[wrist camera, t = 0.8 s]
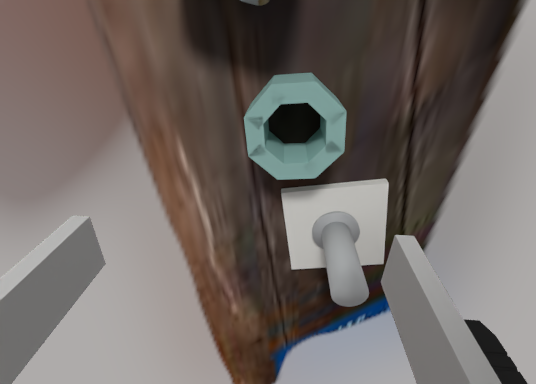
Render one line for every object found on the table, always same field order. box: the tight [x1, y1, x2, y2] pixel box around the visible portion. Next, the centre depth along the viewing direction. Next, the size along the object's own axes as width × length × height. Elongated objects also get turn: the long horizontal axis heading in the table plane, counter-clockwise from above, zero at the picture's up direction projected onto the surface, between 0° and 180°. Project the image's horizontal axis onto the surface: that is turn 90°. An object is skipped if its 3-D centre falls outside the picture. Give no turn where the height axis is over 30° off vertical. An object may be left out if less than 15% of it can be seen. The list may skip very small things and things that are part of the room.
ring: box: [244, 73, 347, 180], centre depth 26 cm, size 8×8×5 cm
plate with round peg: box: [281, 179, 389, 307], centre depth 29 cm, size 11×11×10 cm
